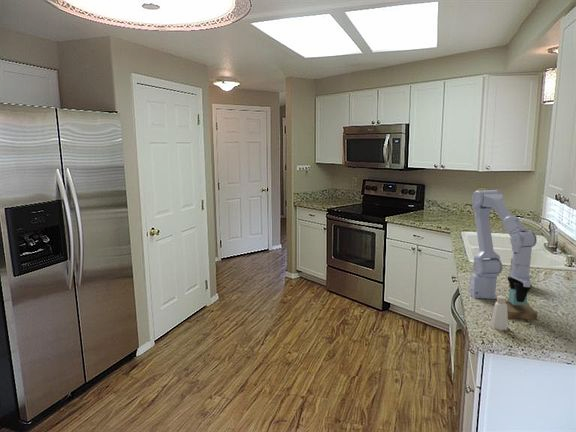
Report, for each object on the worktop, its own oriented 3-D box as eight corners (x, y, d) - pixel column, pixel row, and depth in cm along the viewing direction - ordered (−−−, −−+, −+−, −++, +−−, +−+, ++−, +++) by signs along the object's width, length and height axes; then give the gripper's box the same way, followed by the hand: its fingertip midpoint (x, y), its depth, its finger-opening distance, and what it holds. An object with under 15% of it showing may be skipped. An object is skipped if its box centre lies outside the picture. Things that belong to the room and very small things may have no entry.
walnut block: (506, 317, 146) (507, 311, 146) (497, 307, 156) (498, 300, 155) (536, 319, 144) (537, 313, 144) (525, 308, 154) (526, 302, 153)
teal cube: (513, 304, 147) (514, 293, 147) (508, 300, 152) (509, 288, 151) (526, 305, 147) (527, 293, 146) (521, 300, 151) (522, 289, 150)
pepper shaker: (491, 328, 138) (493, 298, 136) (489, 322, 143) (491, 293, 141) (508, 331, 136) (511, 300, 134) (506, 324, 141) (509, 294, 139)
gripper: (541, 270, 139) (537, 307, 141) (525, 258, 153) (521, 292, 155) (519, 269, 140) (516, 306, 142) (505, 257, 154) (502, 291, 157)
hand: (517, 299), depth 149 cm, fingers closed on teal cube, 4 cm apart
